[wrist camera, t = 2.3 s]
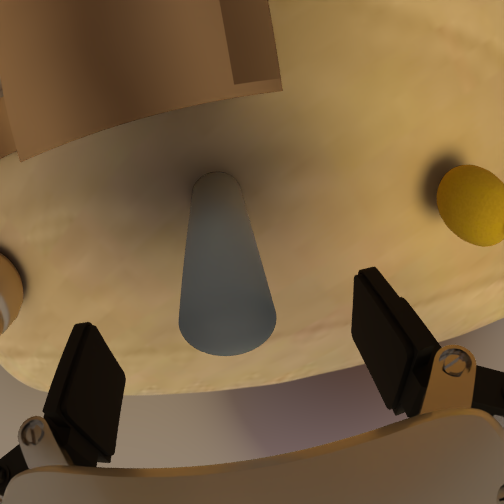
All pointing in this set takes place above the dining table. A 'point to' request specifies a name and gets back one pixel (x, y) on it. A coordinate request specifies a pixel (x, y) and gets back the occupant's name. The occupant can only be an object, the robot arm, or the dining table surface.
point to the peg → (223, 273)
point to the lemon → (472, 204)
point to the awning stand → (123, 63)
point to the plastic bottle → (9, 293)
